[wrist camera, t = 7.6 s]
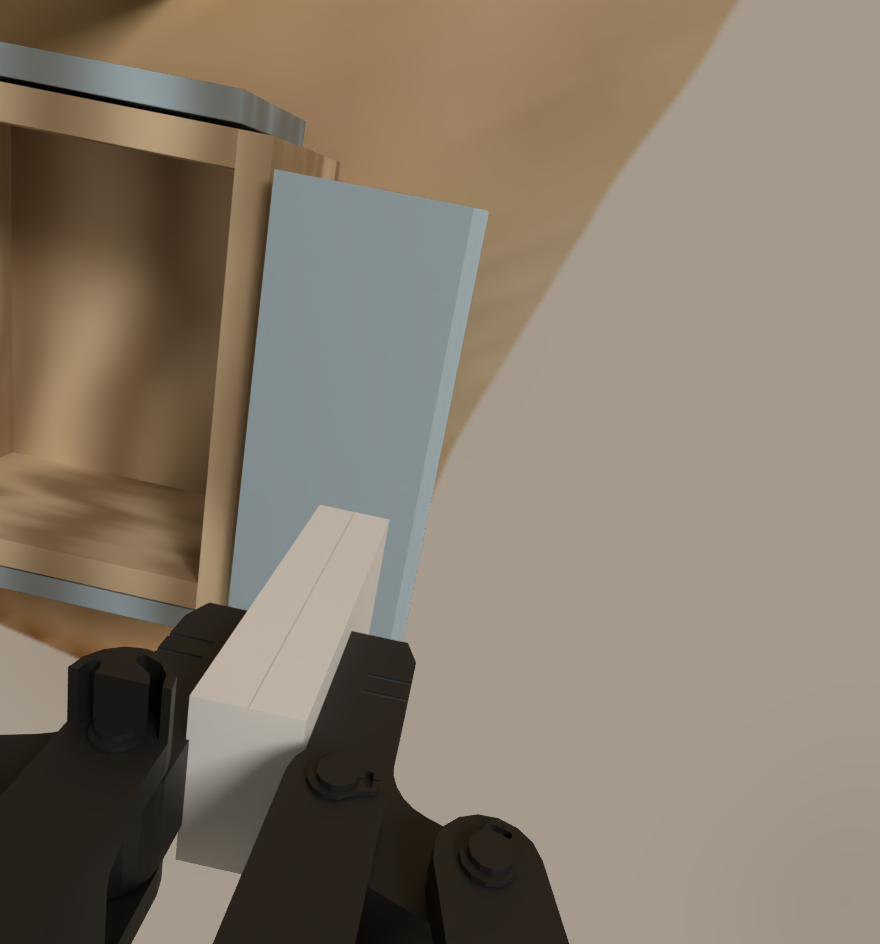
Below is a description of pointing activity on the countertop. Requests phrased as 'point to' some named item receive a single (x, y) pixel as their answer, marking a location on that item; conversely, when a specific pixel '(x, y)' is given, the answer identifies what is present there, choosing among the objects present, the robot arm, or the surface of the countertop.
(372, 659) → the robot arm
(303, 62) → the countertop surface
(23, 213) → the carton
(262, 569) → the flap
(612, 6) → the countertop surface
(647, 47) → the countertop surface
